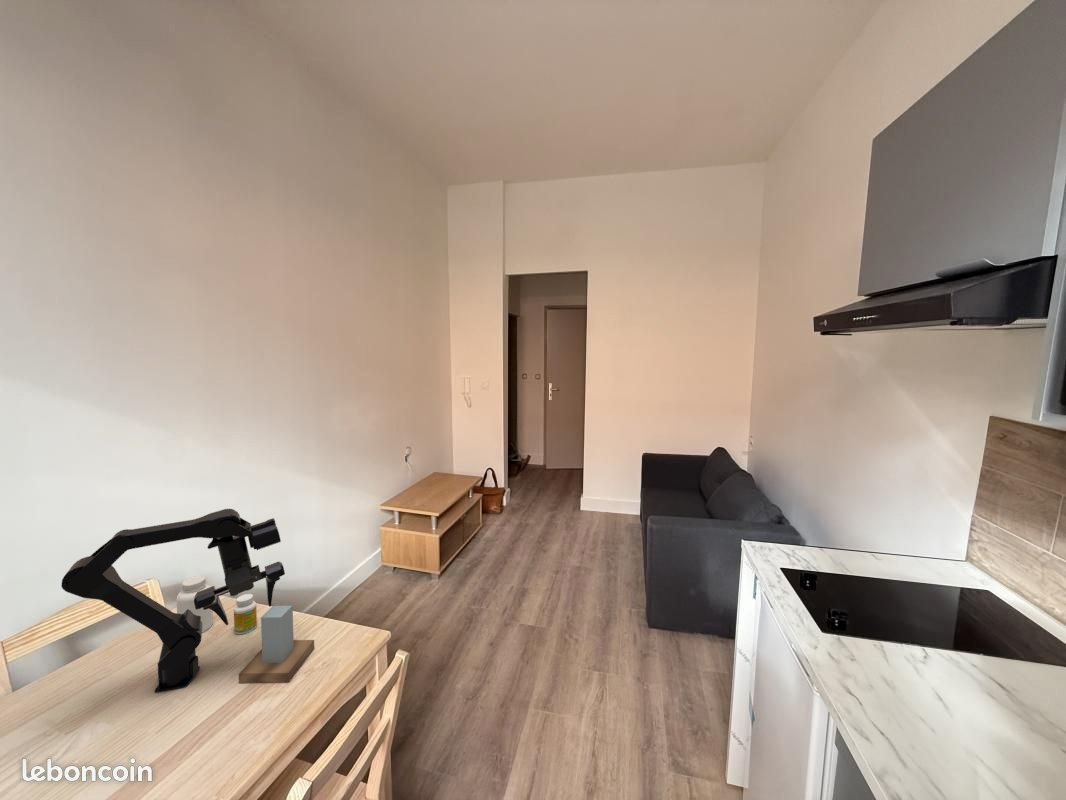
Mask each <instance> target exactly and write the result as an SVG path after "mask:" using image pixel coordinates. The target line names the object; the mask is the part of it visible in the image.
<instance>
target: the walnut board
mask: <svg viewBox="0 0 1066 800" xmlns="http://www.w3.org/2000/svg"><path fill="white" fill-rule="evenodd" d="M293 641H294V649H293V650H292V652H291V653H290V654H289V655H288V656H287V658H286V659H285V660H284V661H283V663H262V648H261V649H259V651H258V652H257V653H256V654H255V655H254V656H253V658H252V659H251V660H249V662H248V663H247V664H246V665H245V666H244V667H243V668H242V669H241V670H240V672H239V673H238V684H273V683H275V684H277V683H280V684H281V683H288V684H289V683H291V680H292V679H293V677H295V675H296V674H297V672H298V671H299V670H300V668H301V667H302V666H303V665H304V663H305V661H306V660H307V659H308V657H309V656H310V655H311V654H312V653H313V651H314V649H315V639H293Z"/></svg>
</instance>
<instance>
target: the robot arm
mask: <svg viewBox="0 0 1066 800" xmlns="http://www.w3.org/2000/svg"><path fill="white" fill-rule="evenodd" d="M195 538H196V539H197V538H200V539H211V541H210V542H209V543H208V545H207V549H209V550H210V549H213V548H216V547H217V548H218V549H217V550H218V553H219V557H220V562H221V566H222V570H223V574H224V583H225V585H223V586H221V587H218V588H216V587H215V585H213V586H211V587H210V588H207V589H204V590H202V591H199V592H197V593H196V595H195V597H194V605H195V609H200V608H203V609H204V610H206V609H211V610H213V613H215V614H216V615H217V616H218V617H219V618H220V619H221V621H222V622H223V623H224V624H225V625H226V626H228V625H229V621H228V617H227V614H226V611H225V609H224V605H223V604H222V601H221V599H220V597H221V596H222V595H225V594H228V593H229V596H231V597H235V596H237V595H239V594H241V593H244V592H247V591H250V590H252V589H253V588H254V587H255V585H254V583H256V582H259V581H261V580H263V579H265V584H266V585H265V587H266V596H267V597H266V598H267V602H268V607H270V608H271V607H272V601H273V593H274V588H275V585H276V583H277V581H280V580H281V577H283V576H284V575H286V572H285V569H284V565H283V563H282V562H281V561H276V562H274V563H270V564H268V565H265V566H264V570H262V571H261V570H260V566H259V564H257V565H253V566H252V562H251V561H252V560H251V558H250V553H249V549H248V545H247V541H246V538H247V539H248V543H249V546H250V549H253V550H256V551H258V550H262V549H264V548H267V547H270V546H273V545H276V544H280V543H281V542H282V540H281V537H280V532H279V529H278V526H277V523H276V520H275V518H273V517H272V518H269V519H267V520H264V521H262V522H260V523H255V524H253V525H252V524H251V523H250V521H247V520H245V519H243V518H242V517H240V513H239V512H238V511H237V510H235V509H233V508H224V509H221V510H217V511H214V512H210V513H208V514H205V515H203V516H200V517H198V518H194V519H188V520H183V521H182V520H181V521H176V522H170V523H164V524H157V525H151V526H145V527H139V528H134V529H131V528H130V529H127V528H126V529H122V530H119V531H117V532H116V533H115V534H114V535H113V537H112V538H110V539H109V540H108V541H107V542H105V543H103V544H102V545H101V546H100V547H99V548H97V549H96V550H95V551H94V552H93V553H92V554H91V555H89V556H88V555H87V556H85V557H82V558H80V559H78V560H77V561H76V562H74V563H73V564H72V565H71V566H70V568H69V569H68V571H67V572H66V573H65V575H64V576H63V578H62V580H61V589H62V590H63V591H64V592H66V593H69V594H71V595H74V596H78V597H80V598H82V599H91V600H99V601H102V602H104V603H105V604H107V605H109V606H110V607H112V608H113V609H115V610H117V611H119V612H120V613H122V614H124V615H126V616H127V617H129V618H131V619H132V620H134V621H136V622H137V623H139V624H141V625H142V626H144V627H146V628H148V629H149V630H150V631H153V632H154V633H155V634H157V636H158V638H159V639H160V641H161V642H162V645H161V651H160V655H159V659H158V662H157V677H158V680H157V681H158V685H157V686H156V687H155V688H154V693H158V692H160V693H161V692H164V691H171V690H176V689H181V688H186V687H187V686H188V685H189V684H190V683H191V682H192V680H193V679H194V678H195V676H196V675H197V674H198V672H199V671H200V669H201V666H200V665H199V656H198V655H196V651H197V650H196V649H197V648H198V647H199V646H200V644H201V642H202V638H203V637H202V635H203V632H202V626H203V625H202V621H201V616H197V615H194V614H193V613H192V612H191V611H190V610H189V609H187V610H186V611H185V612H184V613H183V614H178V613H177V612H176V613H175V612H173V611H171V610H170V609H169V608H167V607H165V606H164V605H162V604H160V603H159V602H157V601H155V600H154V599H153V598H151V597H149V596H148V595H146V594H144V593H143V592H141V591H140V590H138V589H137V588H135V587H133V586H132V585H130V584H129V583H127V582H125V580H123V579H122V577H121V576H120V575H119V573H118V571H117V570H116V568H115V567H114V566H113V565H114V563H115V562H117V561H118V559H120V558H121V556H123V554H125V553H126V552H127V551H129V550H134V549H141V548H145V547H150V546H156V545H161V544H167V543H172V542H177V541H184V540H188V539H195Z"/></svg>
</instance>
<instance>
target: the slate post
mask: <svg viewBox="0 0 1066 800" xmlns="http://www.w3.org/2000/svg"><path fill="white" fill-rule="evenodd" d="M293 612H294V611H293V605H272V606H270V608H269V609H268V610H267V611H266V612H265V613H264V614H263V615H262V616H261V617H260V631H261V632H260V633H261V635H260V636H261V649H262V663H283V661H284V660H285V659H286V658H287V656H288V655H289V654H290V653H291V652H292V650H293V649H294V641H293V640H294V613H293Z"/></svg>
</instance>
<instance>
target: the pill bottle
mask: <svg viewBox="0 0 1066 800" xmlns="http://www.w3.org/2000/svg"><path fill="white" fill-rule="evenodd" d="M206 578H207V577H205V576H204V575H197V576H196V575H195V576H193V577H189V578H187V579H185V580H184V581H183V582H182V583H181V591H179V593H178V594H177V596H176V613H178V614H183V613H184V612H185V611H186V610H187V609H189V610H190V611H191V612H192V613H193V614H194V615H197V616H201V621H202V625H203V626H202V633H204V632H206V631H208V630H209V629H210V628H211V627H212V626H213V623H214V611H213V610H211V609H206V610H204V609H203V608H200V609H195V605H194V597H195V595H196V593H197V592H199V591H202V590H204V589H207V588H210V587H212V586H211V585H209V584H207V582H206V580H207V579H206Z"/></svg>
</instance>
